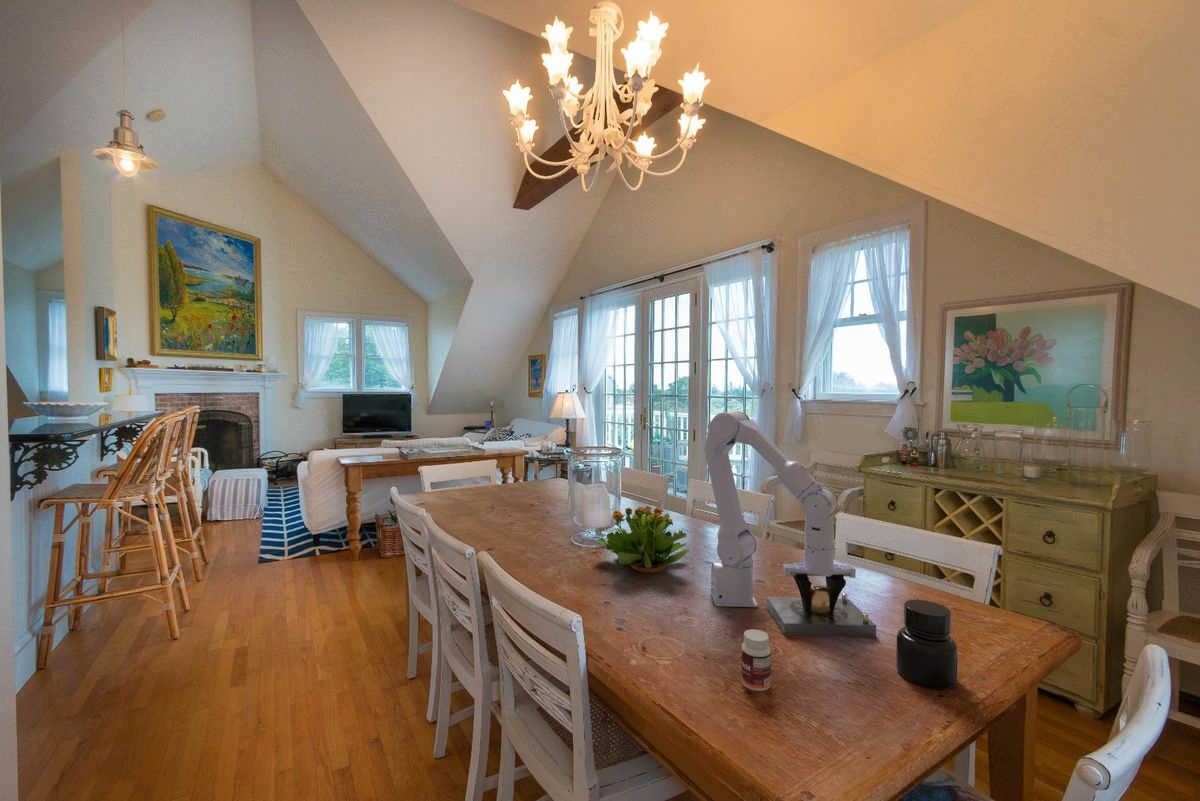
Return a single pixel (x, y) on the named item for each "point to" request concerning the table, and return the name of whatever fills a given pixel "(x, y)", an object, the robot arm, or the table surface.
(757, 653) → the pill bottle
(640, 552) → the potted flower
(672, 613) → the table surface
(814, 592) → the bushing
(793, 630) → the jig
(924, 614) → the ink bottle
